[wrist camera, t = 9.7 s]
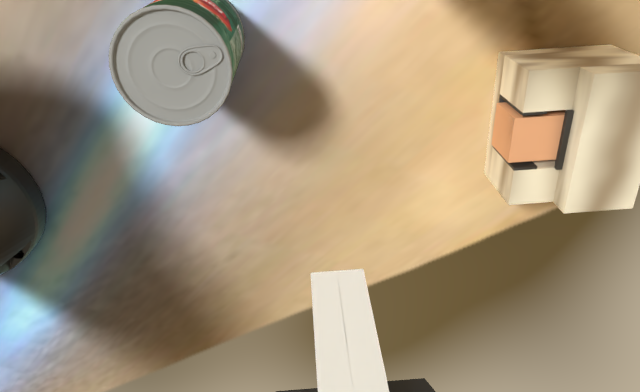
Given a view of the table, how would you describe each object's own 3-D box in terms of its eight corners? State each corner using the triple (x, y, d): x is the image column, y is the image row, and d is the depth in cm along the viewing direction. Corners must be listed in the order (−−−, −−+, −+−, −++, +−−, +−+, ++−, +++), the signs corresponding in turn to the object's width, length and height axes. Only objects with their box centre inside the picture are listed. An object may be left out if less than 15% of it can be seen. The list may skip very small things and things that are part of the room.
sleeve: (483, 173, 50) (517, 216, 42) (498, 51, 44) (540, 77, 36) (582, 166, 50) (632, 208, 42) (609, 44, 44) (674, 69, 37)
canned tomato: (175, 93, 44) (143, 141, 34) (132, 3, 40) (83, 29, 31) (259, 65, 43) (250, 106, 34) (223, -29, 39) (202, -13, 30)
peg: (491, 144, 46) (508, 162, 42) (496, 102, 44) (514, 118, 40) (597, 136, 46) (622, 154, 43) (607, 95, 44) (634, 110, 41)
